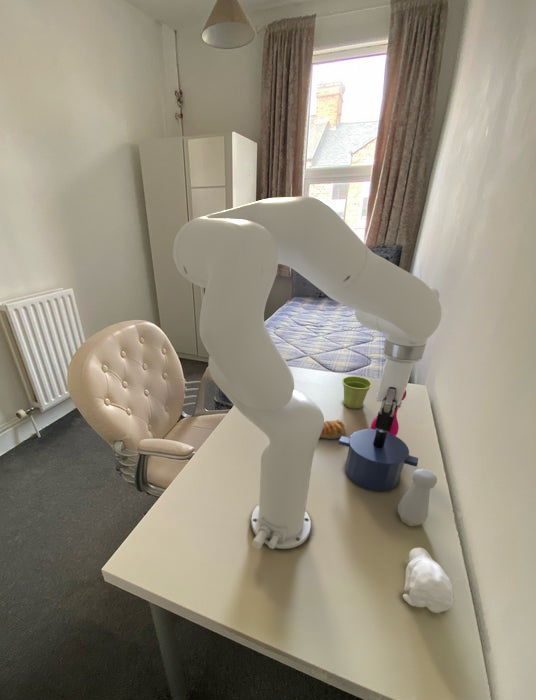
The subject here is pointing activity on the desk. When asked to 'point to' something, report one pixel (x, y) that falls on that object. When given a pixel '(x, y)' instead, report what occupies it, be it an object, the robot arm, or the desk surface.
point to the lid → (378, 446)
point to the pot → (373, 470)
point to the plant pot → (355, 391)
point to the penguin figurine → (427, 583)
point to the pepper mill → (395, 423)
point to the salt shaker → (417, 498)
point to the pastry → (333, 429)
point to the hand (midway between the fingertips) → (386, 418)
